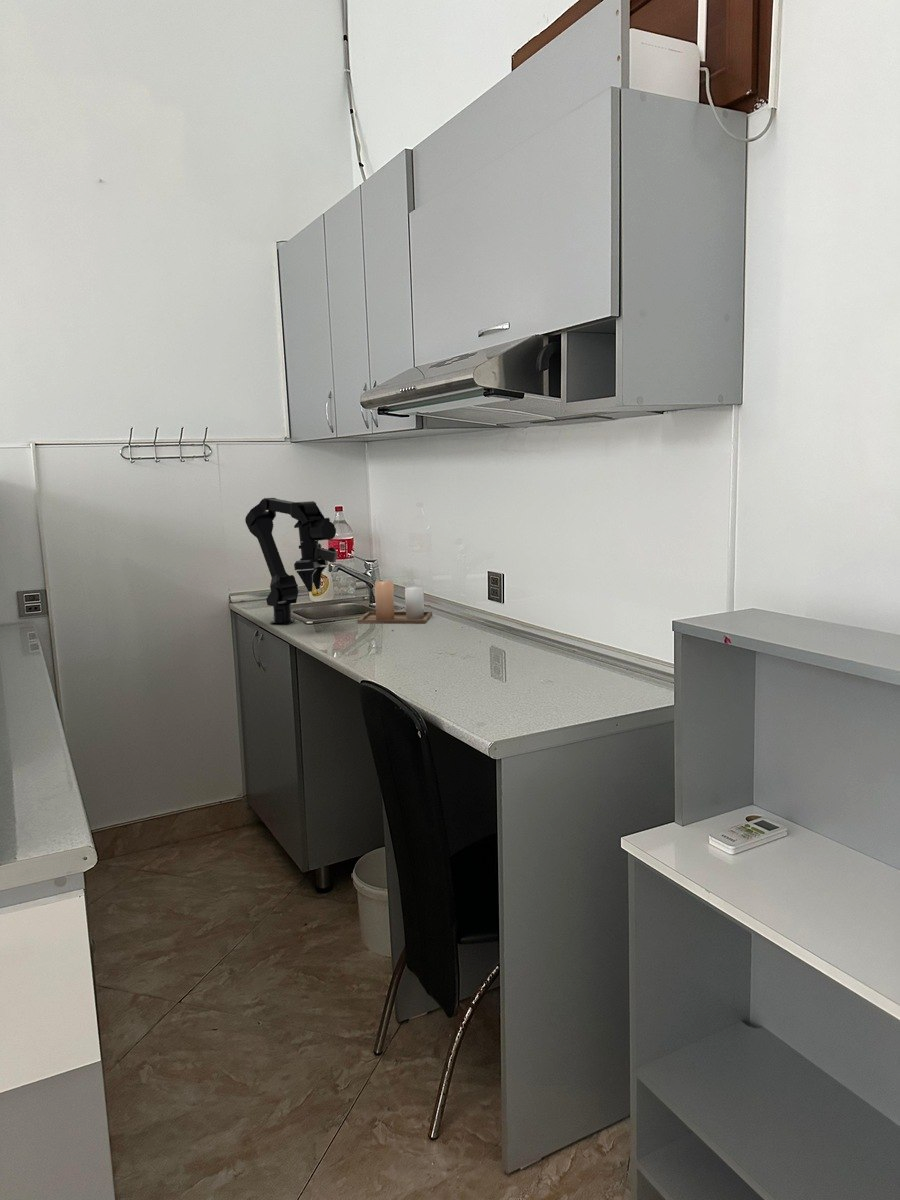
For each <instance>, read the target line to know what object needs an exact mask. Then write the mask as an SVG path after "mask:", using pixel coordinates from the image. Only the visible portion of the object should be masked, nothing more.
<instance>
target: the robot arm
mask: <svg viewBox="0 0 900 1200" xmlns="http://www.w3.org/2000/svg"><path fill="white" fill-rule="evenodd" d="M277 513H281V514H286V515H290V517H291V518H293V519H295V520H296V521H297V522H296V523H295V524H294V526H293V528H294V529H298V537H299V545H298V549H299V550H300V555H301V558H300V559H299V560H296V561H295V562H294V564H293V567H294V571H295V572H296V573H297V574H298V575H297V576H299V578H300V579H301V581H302V582H303V584H304V586H305V588H306V590H307V591H308V592H309V593H311V592H313V589H314V588H315V589H316V590H319V589H321V583H322V582H321V581H322V575H323V572H324V571H325V570H326V568H327V566H328V565H329V563H333V564H334V563H336V562H337V559H338V556H339V555H338V554H339V552H338V551H337V549H336V547H332V546H331V547H329V548H323V547H322V544H321V543H319V541H328V540H329V541H330V540H332V539H334V538H335V537H336V534H337V528H336V526H335V524H334V523H333V522H332V521H331V519H330V517H325V516H324V514H323V513H322V511H321V510H320V508H319V507H318V505H317V503H316V501H314V500H313V501H311V500H310V501H299V502H298V501H297V502H296V501H289V500H286V499H285V500H284V499H279V498H276V497H264V498H262V499H261V500H260V501H259V503H258V504H256V505H255V506H253V507H252V508H251V509H250V510H249V512H247V514H246V516H245V524H246V527H247V529H248V530H249V532H250V533H251V534H252V536H254V537H255V538H256V539H257V541H258V543H259V547H260V550H261V552H262V554H263V557H264V561H265V563H266V566H267V568H268V572H269V574H270V577H271V580H270V585H269V589H270V592H269V594H268V596H267V597H266V600H265V601H266V605H267V606H270V607H272V609H273V621H271V622H270V624H271V623H284V624H283V625H290V624H292V623H293V622H295V621H296V619H295V618H292V607H291V605H292V604H297V601H298V596H299V588H298V586H299V585H298V583H297V581H296V577H295V576H294V574H291V575H290V574H288V573H287V572H286V569H285V566H284V563H283V561H282V557H281V555H280V552H279V549H278V547H277V544H276V541H275V539H274V536H273V530H274V522H273V521H274V519H276V516H277ZM313 586H314V588H313ZM291 622H292V623H291ZM289 623H290V624H289Z"/></svg>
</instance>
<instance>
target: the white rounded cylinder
mask: <svg viewBox="0 0 900 1200" xmlns="http://www.w3.org/2000/svg"><path fill="white" fill-rule="evenodd" d="M404 594H405V597H404V598H405V612H406V618H408V619H420V618H424V612H425V609H424V608H425V606H424V605H425V604H424V602H425V601H424V600H425V599H424V596H425V595H424V587H423V586H421V585H420V586H419V585H412V586H405V587H404Z"/></svg>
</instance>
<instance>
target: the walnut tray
mask: <svg viewBox="0 0 900 1200" xmlns="http://www.w3.org/2000/svg"><path fill="white" fill-rule="evenodd" d="M432 616H433V611H424V618H420V619H408V618H406V611H394V620H376V611H367V612H366V613H364V614H363V615H362V616H360V617H359V618H357V620H356V623H357V624H359V625H360V624H362V625H363V624H366V625H367V624H373V625H374V624H382V625H383V624H387V625H388V624H391V625H392V624H397V625H399V624H401V625H402V624H403V625H405V624H407V625H408V624H411V625H413V624H415V625H423V624H426V623H427V622H428V620H430V618H431V617H432Z"/></svg>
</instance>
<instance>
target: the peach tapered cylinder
mask: <svg viewBox="0 0 900 1200" xmlns="http://www.w3.org/2000/svg"><path fill="white" fill-rule="evenodd" d="M394 582H395V581H393V580H377V581H374V588H375V590H374V591H375V592H374V594H375V597H374V600H375V612H376V620H394V612H395V600H394V599H395V593H394V591H395V589H394V586H395V585H394Z"/></svg>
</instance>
